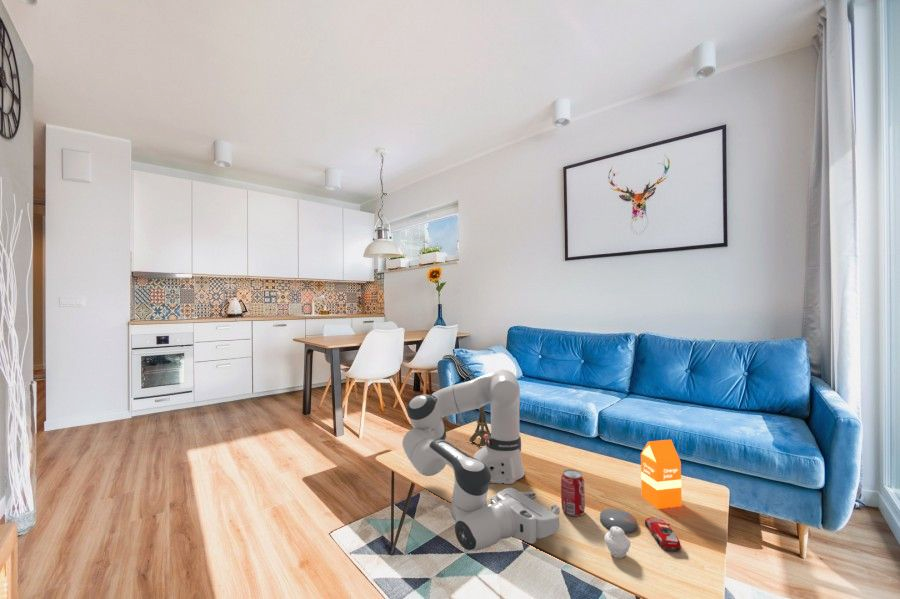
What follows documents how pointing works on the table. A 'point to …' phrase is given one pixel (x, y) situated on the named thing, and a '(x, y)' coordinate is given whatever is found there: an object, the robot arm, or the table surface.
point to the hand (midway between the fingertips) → (545, 501)
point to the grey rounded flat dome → (618, 520)
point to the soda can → (572, 492)
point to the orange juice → (661, 474)
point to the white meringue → (617, 542)
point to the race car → (663, 534)
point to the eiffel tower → (482, 423)
